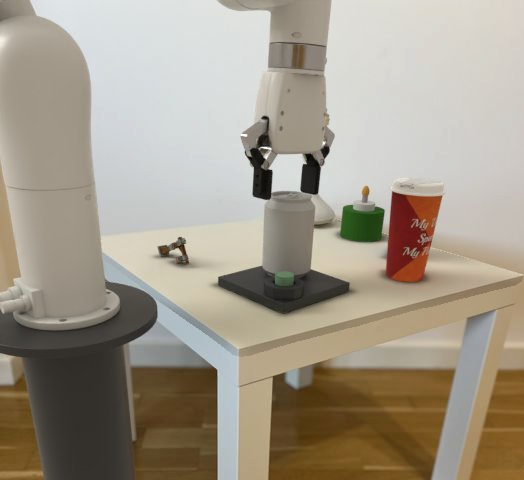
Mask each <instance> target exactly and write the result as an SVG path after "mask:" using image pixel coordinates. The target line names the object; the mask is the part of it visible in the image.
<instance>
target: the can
mask: <svg viewBox="0 0 524 480" xmlns="http://www.w3.org/2000/svg"><path fill="white" fill-rule="evenodd" d="M311 198H312V196H311V195H310V194H308V193H304V192H301V191H298V190H297V191H296V190H277V191H272V192H271V198H270V200H266V202H265V203H264V206H263V208H264V209H263V233H262V235H263V236H262V262H261V263H262V264H261V266H262V267H263V269H264V270H265V271H266V272H267V273H268V274H269V275H271V276H275V273H276V272H280V271H288V272H291V273H293V274H294V277H296V278H300V277H303V276H304V275H305V274H306V273H307V272H309V271H310V270H311V269H312V257H313V245H314V232H315V231H314V230H315V225H314V220H315V207H316V206H315V205H314V204H313V202H312V201H311Z"/></svg>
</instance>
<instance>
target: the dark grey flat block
mask: <svg viewBox="0 0 524 480" xmlns="http://www.w3.org/2000/svg"><path fill="white" fill-rule="evenodd" d="M350 284H351V282H350V281H346V280H343V279H340V278H337V277H336V276H335V277H334V276H332V275H329V274H327V273H323V272H321V271H318V270H315V269H312V268H311V270H310V271H309V272H307V273H306V274H305V275H304V276H303V277H300V278H296V277H294V284H293V285H292V286H279V285H276V284H275V276H271V275H269V274H268V273H267V272H266V271H265V270H264V269H263V267H262V265H259V266H255V267H250V268H247V269H242V270H239V271H236V272H231V273H227V274H223V275H220V276H218V277H217V286H219V287H221V288H223V289H225V290H228V291H230V292H233V293H235V294H237V295H239V296H241V297H244V298H247V299H249V300H251V301H252V302H256V303H258V304H259V305H262V306H265V307H266V308H268V309H271V310H274V311H276V312H278V313H281V314H286V313H290V312H293V311H295V310H298V309H300V308H304V307H306V306H310V305H312V304H315V303H319V302H322V301H324V300H327V299H331V298H333V297H337V296H340V295H342V294H345V293H348V292H349V291H350Z"/></svg>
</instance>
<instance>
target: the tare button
mask: <svg viewBox="0 0 524 480" xmlns="http://www.w3.org/2000/svg"><path fill="white" fill-rule="evenodd" d="M275 284H276V285H279V286H292V285H293V284H294V274H293V273H291V272H288V271H280V272H276V273H275Z"/></svg>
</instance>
